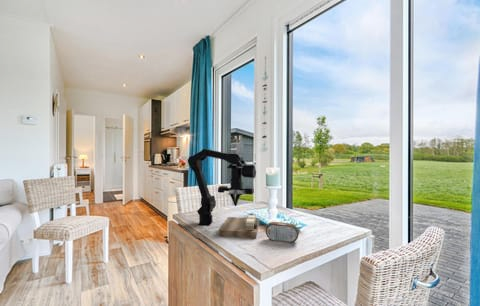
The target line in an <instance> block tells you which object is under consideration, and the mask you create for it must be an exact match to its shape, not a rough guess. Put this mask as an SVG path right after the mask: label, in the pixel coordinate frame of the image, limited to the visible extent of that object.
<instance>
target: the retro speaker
mask: <svg viewBox="0 0 480 306" xmlns="http://www.w3.org/2000/svg"><path fill="white" fill-rule="evenodd" d="M265 234H266V237H267V238H268V239H269V240H270V241H273V242H281V243H288V244H293V243H294V242H296V241H297V240H298V239H299V235H300V232H299V229H298V227H297V226H296V225H295V224H293V223H288V222H279V221H272V222H269V223H268V224H267V225H266V227H265Z"/></svg>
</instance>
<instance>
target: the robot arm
mask: <svg viewBox="0 0 480 306" xmlns="http://www.w3.org/2000/svg"><path fill="white" fill-rule="evenodd" d="M207 157H210V158H214V159H218V160H222V161H225V162H227V163H229V165H228V166H227V167H226V168H227V169H230V183H229V184H230V185H229V186H230V187H228V185H220V186H219V187H218V188H217V193H225V192H228V193H227V194H228V195H229V196H230V198H231V201H232V202H233V205H234V207H237V205H238V202H239V199H240V198H241V196H242V195H244V193H245V194H246V195H253V194H255V189H254V187H252V186H245V188H243V187H244V182H243V181H242V180H243V179H242V177H243V178H248V179H255V178H256V177H257V170H256V166H255V164H247V163H246V162H245V160H244V156H243V155H242V154H241V153H237V152H236V153H234V152H233V153H231V152H229V153H228V152H222V151H218V150H213V149H210V148H202V149H201V150H200V151H199V152H197V153H195V154H193V155H191V156H189V157H188V159H187V163H188V165H189V168H190V169H191V170H192V172H193V173H194V176H195V181H196V183H197V187H198V190H199V193H200V206H201V207H199V209H197V211H196V212H197V214H198V215H199V216H198V217H199V218H198V219H199V223H198V226H211V224H213V214H212V212H213V210H214V209H215V208H216V204H217V201H216V198H215V195H212V194H210V191H209V187H208V184H207V180H206V178H205V174H204V171H203V166H204V164H203V162H204V161H205V159H207Z"/></svg>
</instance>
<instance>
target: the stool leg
mask: <svg viewBox="0 0 480 306" xmlns="http://www.w3.org/2000/svg"><path fill="white" fill-rule="evenodd" d="M246 218H247V221H246V230H253V229H254V223H255V221H256V218H257V217H256V213H253V212H251V213H248V216H247V217H246Z"/></svg>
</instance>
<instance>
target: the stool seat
mask: <svg viewBox="0 0 480 306" xmlns="http://www.w3.org/2000/svg"><path fill="white" fill-rule="evenodd" d="M247 218H248V217H239V216H238V217H234V216H227V217H226V219H225V220H224V222H223V224H222V225H221V227H220V228H219V230H218V237H221V238H222V237H225V238H239V239H241V238H242V239H254V240H255V239H257V237H258V236H257V235H258V231H259V228H260V218H257V217H256V221H255V223H254V229H253V230H246V221H247Z"/></svg>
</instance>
